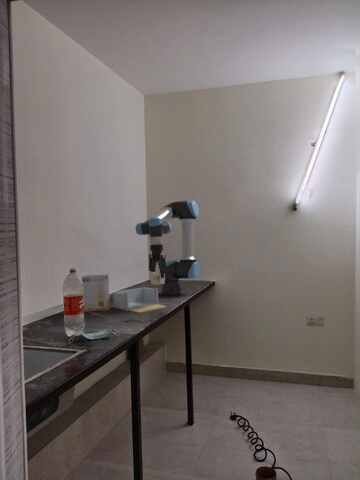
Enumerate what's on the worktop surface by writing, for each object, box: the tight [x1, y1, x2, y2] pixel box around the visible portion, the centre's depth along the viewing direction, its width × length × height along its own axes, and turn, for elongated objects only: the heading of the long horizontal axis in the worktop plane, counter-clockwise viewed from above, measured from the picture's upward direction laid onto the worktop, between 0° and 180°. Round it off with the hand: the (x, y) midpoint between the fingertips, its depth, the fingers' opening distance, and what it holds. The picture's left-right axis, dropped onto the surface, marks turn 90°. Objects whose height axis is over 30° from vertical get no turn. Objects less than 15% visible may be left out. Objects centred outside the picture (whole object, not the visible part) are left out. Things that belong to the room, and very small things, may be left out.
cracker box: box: [81, 274, 111, 313], centre depth 225 cm, size 14×6×21 cm, turn 79°
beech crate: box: [149, 272, 165, 286], centre depth 229 cm, size 6×7×6 cm
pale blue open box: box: [112, 287, 160, 312], centre depth 230 cm, size 22×15×11 cm
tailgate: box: [129, 304, 168, 314], centre depth 220 cm, size 19×1×10 cm
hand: (158, 283), depth 229 cm, fingers closed on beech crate, 7 cm apart
